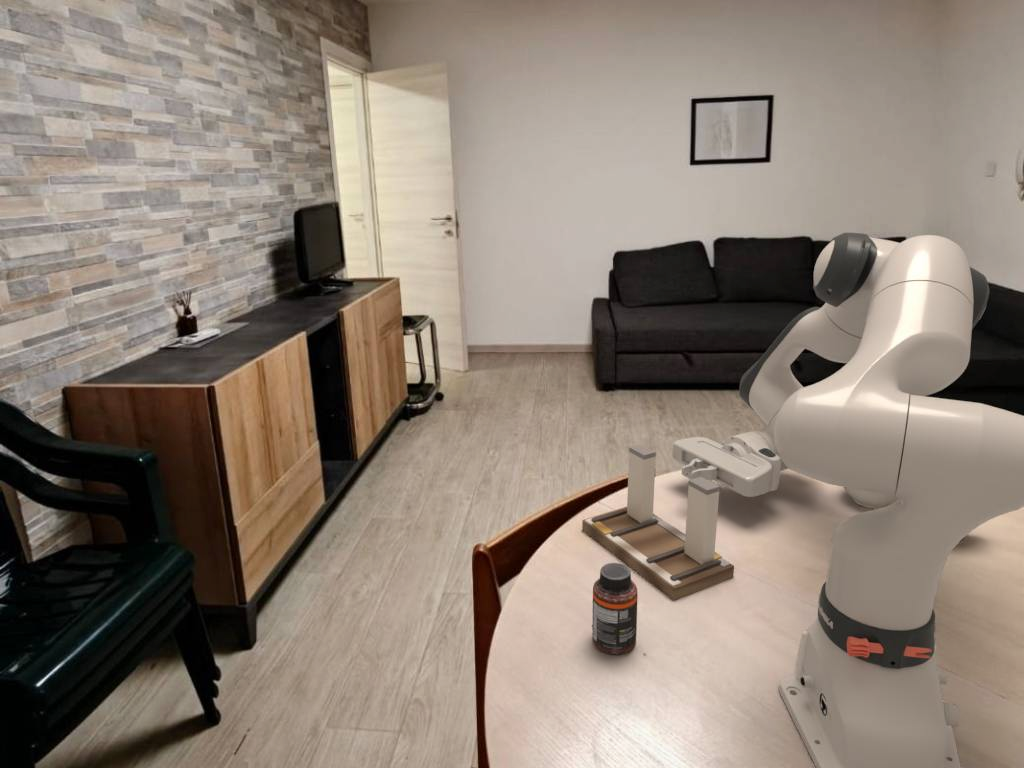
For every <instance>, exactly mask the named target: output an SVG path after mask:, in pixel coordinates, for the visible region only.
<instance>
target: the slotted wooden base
mask: <svg viewBox="0 0 1024 768" xmlns="http://www.w3.org/2000/svg"><path fill="white" fill-rule="evenodd" d="M581 522H582V524H581V526H582V529H581V530H582V531H583V532H584V533H585V534H587V535H588V536H589V537H591V538H592V539H593V540H595V542H597V543H598V544H599V545H600V546H602V547H603V548H605V549H606V550H607V551H609V553H611V554H613V555H614V557H616V558H618V559H619V560H620V561H621V562H623V563H624V564H626V566H627V567H628V568H629V567H630V568H631V569H632V570H633V571H635V572H636V573H637V574H638V575H640V576H641V577H642V578H644V579H645V580H646V581H648V582H649V583H650V584H651V585H652V586H654V587H655V588H656V589H658V590H659V591H661V592H662V593H663V594H665V595H666V596H667V597H669V598H670V599H671V600H672V601H675V600H678V599H681V598H683V597H686V596H688V595H691V594H694V593H696V592H697V593H698V592H699V591H701V590H703V589H706V588H708V587H713V585H717V584H720V583H721V582H724V581H727V580H730V579H731V578H734V573H735V565H734V564H732V563H731V562H729V561H727V560H726V559H725V558H723V557H722V555H720V554H719V553H717V552H716V551H715V553H714V560H713V561H711V562H708V563H705V564H703V565H701V564H700V563H698V562H697V561H695V560H694V559H692V558H691V557H689V556H688V555H687V554H685V553H684V550H685V534H686V533H684V532H682V531H681V530H680V529H678V528H676V527H675V526H674V525H671V524H670V523H668V522H667V521H665V520H664V519H662V518H661V517H659V516H658V515H656V514H655V513H653V519H652V520H649V521H646V522H643V523H640V522H638V521H637V520H635V519H634V518H632V517H631V516H629V515H628V514H627V506H625V507H621V508H617V509H614V510H611V511H608V512H604V513H602V514H598V515H594V516H591V517H588V518H586V519H584V518H583V519H582V521H581Z"/></svg>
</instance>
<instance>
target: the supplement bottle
mask: <svg viewBox="0 0 1024 768" xmlns="http://www.w3.org/2000/svg"><path fill="white" fill-rule="evenodd" d="M631 572H632V571H631V569H630V568H629V566H628V565H625V564H622V563H618V562H610V563H605V564H604V565H603V566H601V568H600V571H599V574H600V575H599V578H598V579H597V580H596V581H594V583H593V587H592V625H591V627H592V628H591V629H592V633H591V634H592V641H593V643H594V645H595V647H596V648H597V649H598V650H599V651H600V652H604V653H607V654H611V655H622V654H626V653H628V652H630V651H632V650H633V649H634V647H635V646H636V643H637V642H636V641H637V628H638V627H637V626H638V625H637V624H638V622H637V621H638V593H639V592H638V587H637V585H636V583H635V582H634V581H633V579H632V577H631V576H632V575H631Z"/></svg>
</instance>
